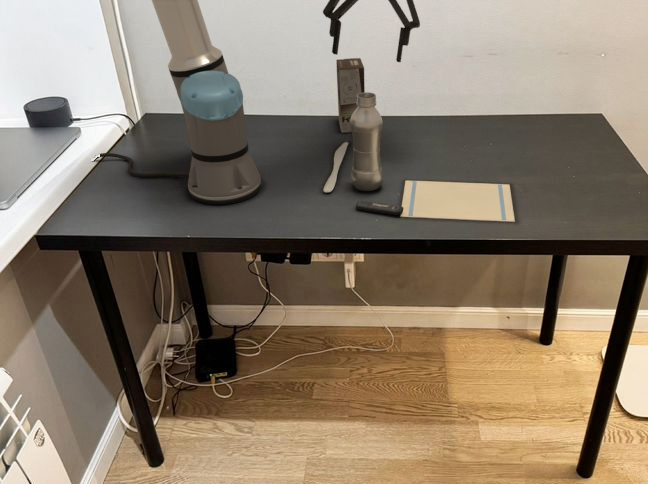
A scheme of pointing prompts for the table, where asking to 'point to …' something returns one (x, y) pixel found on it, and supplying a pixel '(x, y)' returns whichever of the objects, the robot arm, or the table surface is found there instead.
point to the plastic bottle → (366, 143)
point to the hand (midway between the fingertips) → (366, 57)
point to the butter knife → (335, 167)
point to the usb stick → (379, 207)
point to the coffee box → (348, 89)
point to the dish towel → (457, 201)
